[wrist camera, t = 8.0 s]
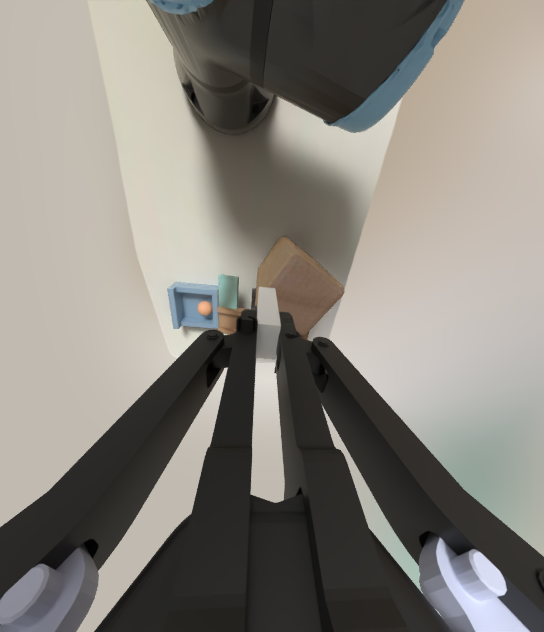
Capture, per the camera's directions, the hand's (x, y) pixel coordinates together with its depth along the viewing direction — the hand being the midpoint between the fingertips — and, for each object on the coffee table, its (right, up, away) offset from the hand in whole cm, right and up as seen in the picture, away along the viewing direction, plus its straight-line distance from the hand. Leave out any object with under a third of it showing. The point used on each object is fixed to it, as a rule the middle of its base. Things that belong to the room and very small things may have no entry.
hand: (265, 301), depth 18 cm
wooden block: (+4, +11, +27) cm, 29 cm away
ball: (-16, +1, +29) cm, 33 cm away
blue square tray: (-18, +2, +31) cm, 36 cm away
